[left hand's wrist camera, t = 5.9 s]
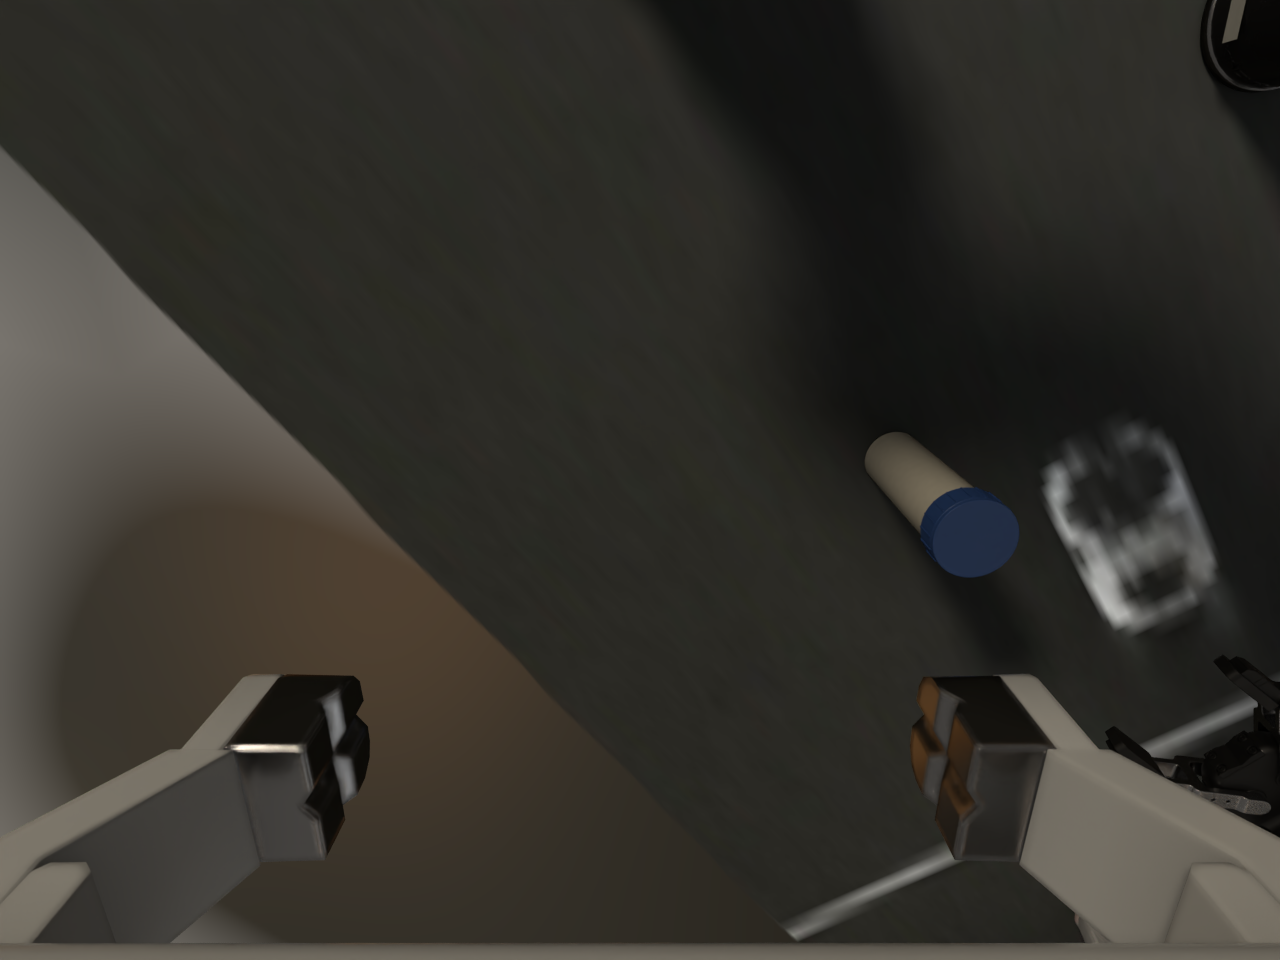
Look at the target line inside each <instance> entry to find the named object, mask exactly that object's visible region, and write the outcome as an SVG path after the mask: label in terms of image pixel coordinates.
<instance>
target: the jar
mask: <svg viewBox="0 0 1280 960" xmlns="http://www.w3.org/2000/svg"><path fill="white" fill-rule="evenodd" d="M865 468H866V471H867V473H868V475H869V477H870V478H871V479H872V480H873V481H874V482H875V483H876V485H877V486H878V487H879V488H880V489H881V490H882V492H883V493H884V494H885V495H886V496H887V497H888V498H889V500H890V501H891V502H892V503H893V504H894V505H895V506H896V508H897V509H898V510H899V511H900V512H901V513H902V514H903V516H904V517H905V518H906V519H907V520H908V521H909V523H910V524H911V525H912V526H913V527H914V528H915V529H916V531H917V532H918V533H919V534H920V526H921V522H922V519H923V516H924V513H925V512H926V510H927V509H928V507H929V506H930V505H931V504H932V503H933V501H935V500H936V499H937V498H938V497H940V496H941V495H943V494H944V493H946V492H949V491H951V490H954V489H958V488H960V487H962V488H965V487H972V488H975V487H973V486H972V485H971V484H970V483H969V482H967V481H966V480H965V479H964V478H962V477H961V476H960V475H959V474H958V473H956V472H955V471H954V470H953V469H952V468H950V467H949V466H948V465H947V464H945V463H944V462H943V461H942V460H941V459H939V458H938V457H937V456H936V455H934V454H933V453H932V452H931V451H930V450H928V449H927V448H926V447H925V446H923V445H922V444H921V443H920V442H919V441H917V440H916V439H915V438H914V437H912V436H911V435H909V434H906V433H903V432H891V433H887V434H885V435H883V436H881V437H879V438H878V439H876V440H875V441H874V442H873V443H872V444H871V446H870V447H869V449H868V451H867V453H866V456H865ZM920 535H921V534H920Z"/></svg>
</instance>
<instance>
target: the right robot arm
mask: <svg viewBox="0 0 1280 960" xmlns="http://www.w3.org/2000/svg"><path fill="white" fill-rule="evenodd" d="M1201 47H1202V52H1203V56H1204V59H1205V61H1206V64H1207V66H1208V68H1209V69H1210V71H1211V72H1212V74H1213V75H1214V76H1215V77H1216V78H1217V79H1218V80H1219V81H1220V82H1221V83H1223V84H1224V85H1226V86H1227V87H1230V88H1232V89H1234V90H1238V91H1242V92H1251V93H1252V92H1263V91H1269V90H1274V89H1278V88H1280V0H1207V2H1206V5H1205V9H1204V12H1203V17H1202V22H1201ZM1213 662H1214V663H1215V664H1216V665H1217V666H1218V667H1219V669H1220V670H1221V671H1222V672H1223V673H1224V674H1225V675H1226V676H1227V677H1228V678H1229V679H1230V680H1231V681H1232V682H1233V683H1234V684H1236V685H1237V686H1238V687H1239V688H1241V689H1242V690H1243V691H1244V692H1246V693H1247V694H1248V695H1249V696H1251V697H1252V698H1253V699H1254V700H1256V701H1257V702H1258V707H1256V708H1254V732H1249V733H1247V732H1245V731H1242V732H1241V733H1239V734H1237V735H1236V736H1234V737H1233V738H1232V739H1231V740H1230V741H1229V742H1228V743H1227V744H1225V745H1223V746H1220V747H1217V748H1214V749H1212V750H1211V751H1209V752H1207V753H1206V754H1204V756H1205V757H1206V758H1197V757H1188V756H1179V755H1177V756H1174V759H1164V758H1155V757H1151V755H1150V754H1149V753H1148V752H1147V751H1146V750H1145V749H1143V748H1142V747H1141V746H1139V745H1138V744H1137V743H1136V742H1134V741H1133V740H1132V739H1130V738H1129V737H1128V736H1127V735H1125V734H1124V733H1123V732H1121V731H1120V730H1119V729H1118V728H1116V727H1115V726H1113V727H1112V728H1110V729H1109V730H1107V731H1105V733H1106V735H1107V736H1108V738H1109V740H1107V741H1106V743H1107V745H1108V747H1109V749H1110V750H1112V751H1114V752H1116V753H1118V754H1120V755H1122V756H1124V757H1126V758H1128V759H1129V760H1131V761H1133V762H1135V763H1137V764H1139V765H1141V766H1143V767H1145V768H1147V769H1149V770H1151V771H1153V772H1154V773H1156V774H1158V775H1160V776H1162V777H1164V778H1165V776H1168V777H1172V778H1166V779H1168V780H1170V781H1172V782H1174V783H1176V784H1178V785H1179V786H1181V787H1183V788H1185V789H1187V790H1189V791H1191V792H1193V793H1195V794H1197V795H1199V796H1201V797H1203V798H1204V799H1206V800H1208V801H1210V802H1212V803H1214V804H1216V805H1218V806H1220V807H1222V808H1224V809H1226V810H1228V811H1229V812H1231V813H1233V814H1235V815H1237V816H1239V817H1241V818H1243V819H1245V820H1247V821H1249V822H1251V823H1253V824H1254V825H1256V826H1258V827H1260V828H1262V829H1264V830H1266V831H1268V832H1270V833H1272V834H1274V835H1276V836H1278V837H1279V838H1280V682H1275V681H1272V680H1270V679H1269V678H1268V677H1266V676H1265V675H1264V674H1263V673H1261V672H1260V671H1259V670H1258V669H1257V668H1255V667H1254V666H1253V665H1252V664H1250V663H1249V662H1248V661H1247V660H1245V659H1243V658H1240V657H1237V656H1236V657H1234V658H1233V659H1231V660H1229V659H1228V658H1227V657H1225V656H1224V655H1221V656H1219V657H1218V658H1216V659H1215V660H1213ZM1197 776H1202V783H1201V781H1200V780H1199V778H1198V777H1197ZM1173 778H1174V779H1173Z"/></svg>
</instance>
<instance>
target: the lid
mask: <svg viewBox="0 0 1280 960" xmlns="http://www.w3.org/2000/svg"><path fill="white" fill-rule="evenodd" d="M920 534H921V541H922V542H923V544H924V546H925V548H926V549H927V550H926V551H927V553H928V554H929V555H930V556H931V557H932V558H933V560H934V561H935V562H938V564H939V565H940V566H941V567H942V568H943V569H944V570H946V571H947V572H949V573H951V574H953V575H956V576H960V577H970V578H971V577H979V576H983V575H986V574H989V573H991V572H993V571H995V570H997V569H998V568H1000V567H1001V566H1002V565H1003V564H1004V563H1006V562H1007V560H1008V559H1009V558H1010V557H1011V556H1012V554H1013V553H1014V551H1015V549H1016V546H1017V544H1018V540H1019V525H1018V522H1017V519H1016V517H1015V516H1014V514H1013V513H1012V512H1011V510H1010V509H1009V508H1008V507H1007V506H1005V505H1004V504H1003V503H1002V501H1000V500H999V499H998V498H997V497H995V496H994V495H993V494H992V493H990V492H986V491H984V490H981V489H978V488H977V487H975V488H972V487H965V488H962V487H960V488H958V489H954V490H951V491H949V492H946V493H944V494H943V495H941V496H940V497H938V498H937V499H936V500H935V501H933V503H932V504H931V505H930V506H929V507H928V509H927V510H926V512H925V513H924V516H923V519H922V522H921V526H920Z"/></svg>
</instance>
